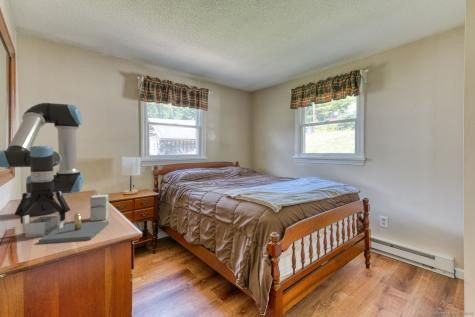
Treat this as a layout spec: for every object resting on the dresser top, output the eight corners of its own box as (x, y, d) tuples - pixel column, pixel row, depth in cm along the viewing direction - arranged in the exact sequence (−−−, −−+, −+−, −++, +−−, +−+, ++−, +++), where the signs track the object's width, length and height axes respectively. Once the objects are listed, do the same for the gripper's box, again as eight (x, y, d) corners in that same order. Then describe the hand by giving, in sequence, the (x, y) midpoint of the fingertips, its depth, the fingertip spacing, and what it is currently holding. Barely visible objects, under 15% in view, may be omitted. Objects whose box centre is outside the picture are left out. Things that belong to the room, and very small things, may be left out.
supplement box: (89, 221, 113) (89, 197, 112) (93, 217, 119) (93, 194, 119) (106, 220, 115) (106, 196, 115) (108, 216, 122) (108, 193, 122)
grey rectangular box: (41, 229, 101) (41, 216, 100) (58, 228, 102) (58, 215, 102) (25, 237, 91) (25, 223, 91) (44, 236, 92) (44, 222, 92)
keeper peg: (76, 228, 97) (76, 212, 97) (82, 228, 98) (82, 212, 98) (73, 230, 95) (73, 214, 95) (79, 230, 96) (79, 213, 95)
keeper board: (67, 226, 104) (67, 223, 104) (108, 224, 108) (108, 221, 108) (38, 243, 85) (38, 239, 85) (90, 239, 89) (90, 236, 89)
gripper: (1, 183, 90) (3, 234, 90) (69, 181, 95) (70, 229, 95) (16, 181, 97) (17, 228, 97) (78, 179, 102) (79, 224, 103)
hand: (43, 229), depth 96 cm, fingers open, 12 cm apart
